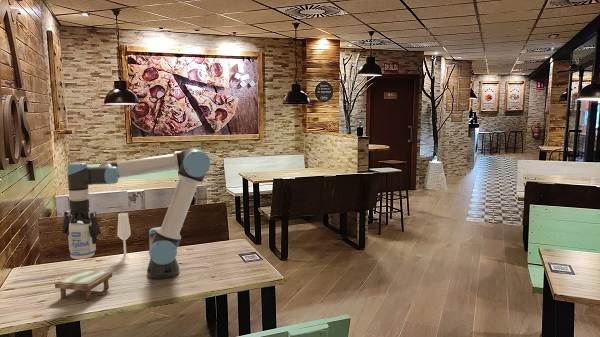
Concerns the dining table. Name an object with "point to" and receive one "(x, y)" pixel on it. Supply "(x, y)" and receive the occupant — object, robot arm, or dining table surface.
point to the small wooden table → (83, 282)
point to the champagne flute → (123, 232)
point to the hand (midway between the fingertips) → (82, 250)
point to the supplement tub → (80, 240)
